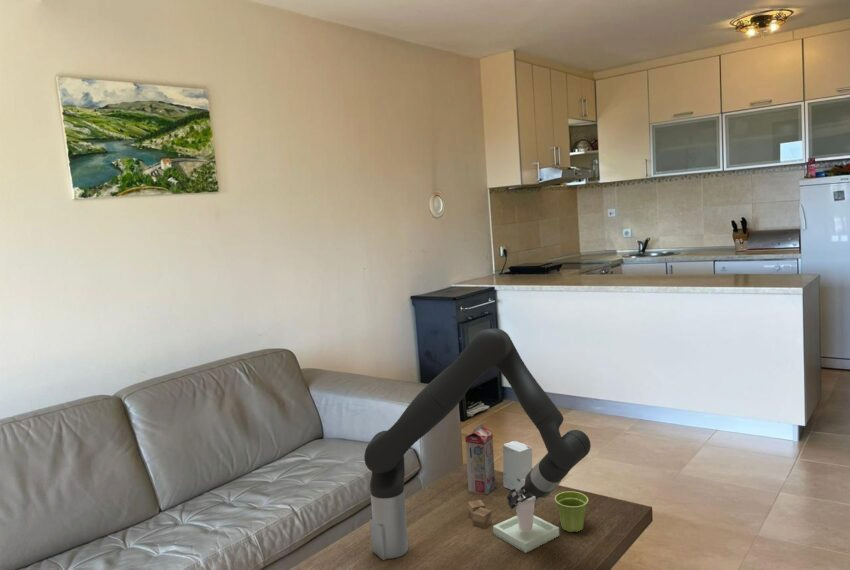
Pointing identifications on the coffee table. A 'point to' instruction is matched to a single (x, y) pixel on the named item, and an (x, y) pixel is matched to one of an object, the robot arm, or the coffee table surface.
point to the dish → (526, 533)
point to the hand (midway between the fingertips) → (521, 502)
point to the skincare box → (516, 464)
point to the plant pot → (571, 510)
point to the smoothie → (525, 513)
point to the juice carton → (480, 460)
